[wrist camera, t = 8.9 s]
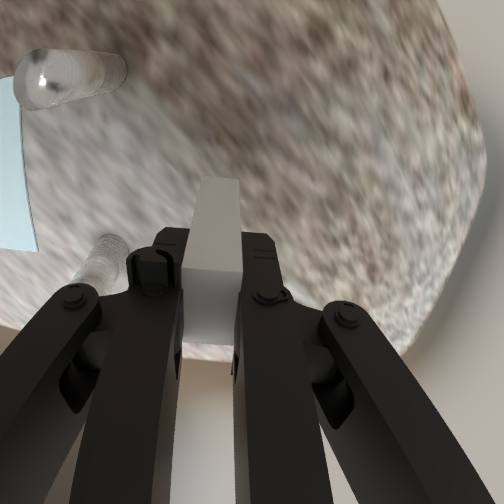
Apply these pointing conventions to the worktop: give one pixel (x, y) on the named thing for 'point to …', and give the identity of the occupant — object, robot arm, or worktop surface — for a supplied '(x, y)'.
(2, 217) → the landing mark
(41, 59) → the post
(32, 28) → the worktop surface
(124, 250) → the post
